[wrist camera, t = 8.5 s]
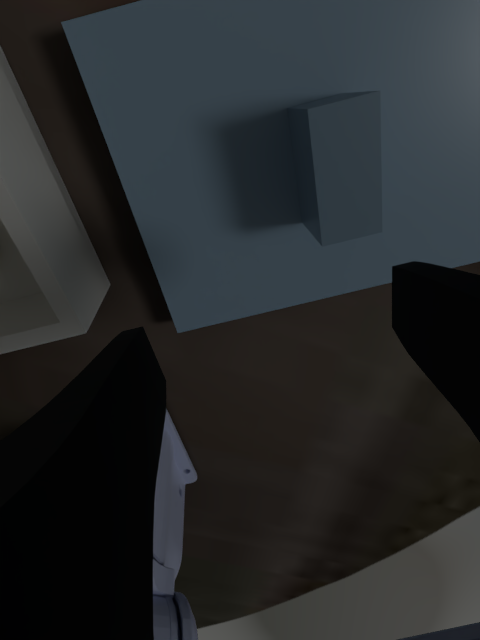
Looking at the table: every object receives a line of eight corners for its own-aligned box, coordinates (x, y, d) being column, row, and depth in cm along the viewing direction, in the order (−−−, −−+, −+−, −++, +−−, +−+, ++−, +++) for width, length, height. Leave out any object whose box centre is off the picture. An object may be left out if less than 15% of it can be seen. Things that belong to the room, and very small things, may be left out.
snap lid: (473, 244, 22) (549, 284, 17) (179, 315, 22) (173, 372, 18) (514, -88, 14) (666, -180, 10) (77, 31, 15) (19, -2, 10)
